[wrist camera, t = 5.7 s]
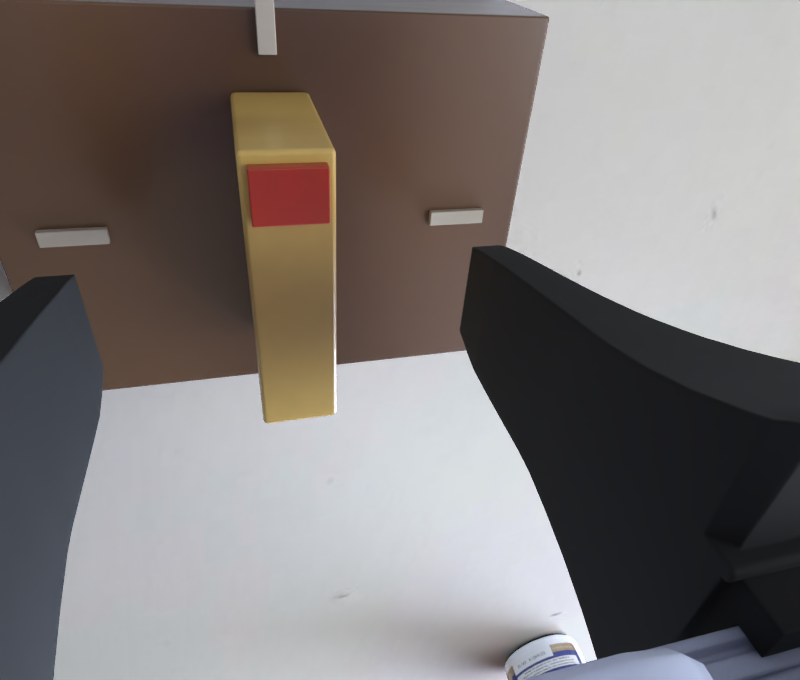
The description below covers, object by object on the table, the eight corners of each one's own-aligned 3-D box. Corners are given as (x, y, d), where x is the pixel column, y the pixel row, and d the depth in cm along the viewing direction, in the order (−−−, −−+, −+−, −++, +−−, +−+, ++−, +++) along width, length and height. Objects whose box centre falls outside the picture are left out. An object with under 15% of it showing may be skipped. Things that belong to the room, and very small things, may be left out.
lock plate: (79, 345, 18) (59, 417, 15) (-57, -61, 12) (-128, -48, 9) (453, 310, 21) (485, 367, 18) (501, -32, 14) (560, -16, 12)
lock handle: (316, 325, 16) (339, 423, 13) (255, 331, 15) (264, 433, 12) (309, 91, 12) (338, 154, 9) (229, 91, 12) (234, 157, 9)
